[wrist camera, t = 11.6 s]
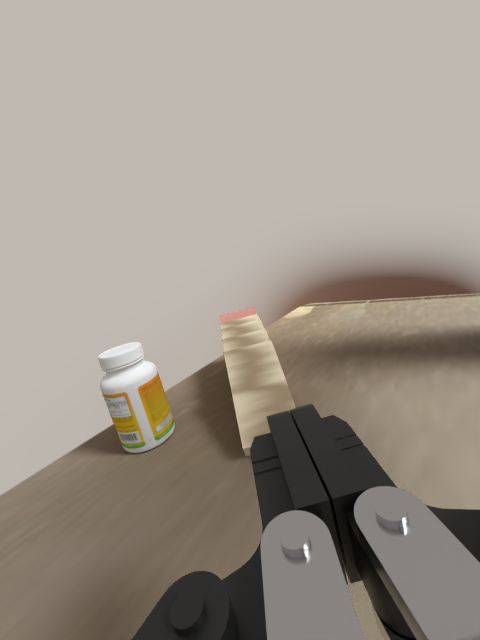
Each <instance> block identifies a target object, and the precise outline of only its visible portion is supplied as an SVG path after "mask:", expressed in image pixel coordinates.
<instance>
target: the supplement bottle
mask: <svg viewBox="0 0 480 640" xmlns="http://www.w3.org/2000/svg"><path fill="white" fill-rule="evenodd" d="M143 358H144V352H143V349H142V346H141V344H140V343H139V342H132V343H127V344H123V345H120V346H117V347H114V348H112V349H110V350H107V351H105V352H103V353H102V354H100V355H99V356H98V359H99V362H100V365H101V368H102V370H103V371H105V372H106V373H107V374H106V375H105V376H104V377H103V378H102V380H101V383H100V388H101V391H102V394H103V397H104V399H105V402H106V404H107V407H108V409H109V412H110V415H111V417H112V420H113V423H114V425H115V428H116V431H117V433H118V436H119V439H120V441H121V444H122V446H123V448H124V449H125V450H126V451H128V452H131V453H140V452H145V451H148V450H150V449H153V448H155V447H156V446H158V445H160V444H161V443H163V442H164V441H165V440H167V439H168V438H169V437H170V436H171V434H172V433H173V431H174V428H175V424H174V420H173V417H172V413H171V411H170V408H169V405H168V402H167V398H166V395H165V392H164V389H163V386H162V383H161V380H160V377H159V374H158V371H157V369H156V367H155V365H154V364H153V363H151V362H149V361H144V360H143Z"/></svg>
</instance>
